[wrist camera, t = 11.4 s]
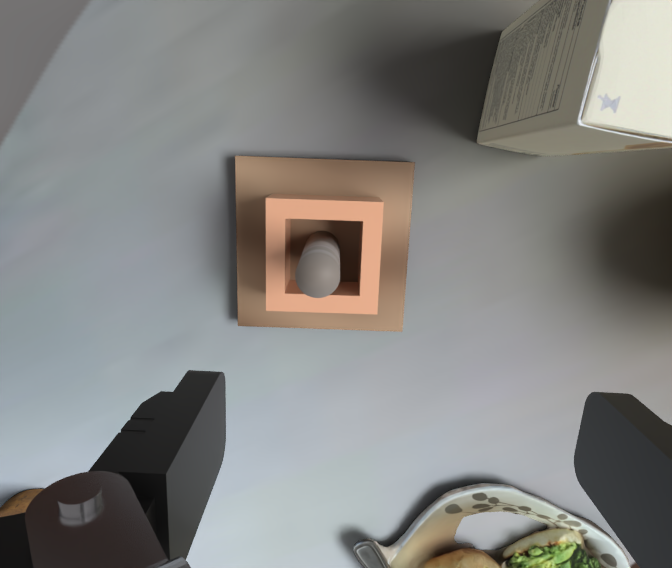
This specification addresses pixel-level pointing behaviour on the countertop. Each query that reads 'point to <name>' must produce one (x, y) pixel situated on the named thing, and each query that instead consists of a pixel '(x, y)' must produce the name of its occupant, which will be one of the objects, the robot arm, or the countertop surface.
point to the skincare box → (582, 79)
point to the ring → (347, 294)
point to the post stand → (322, 238)
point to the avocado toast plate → (509, 562)
